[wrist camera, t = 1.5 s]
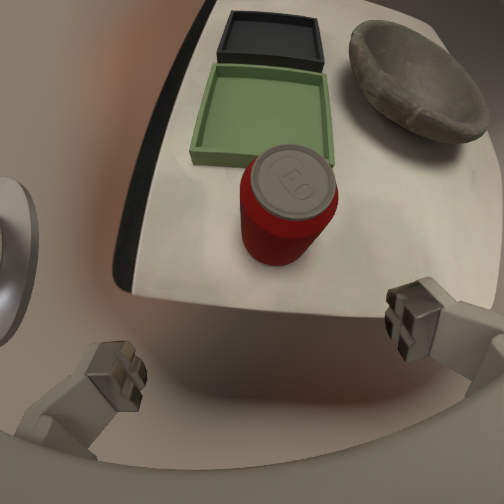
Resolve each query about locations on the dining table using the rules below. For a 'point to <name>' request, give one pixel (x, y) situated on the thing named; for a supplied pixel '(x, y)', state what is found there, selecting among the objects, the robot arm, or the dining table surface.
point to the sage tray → (260, 114)
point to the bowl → (416, 83)
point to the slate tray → (271, 41)
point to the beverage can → (285, 202)
